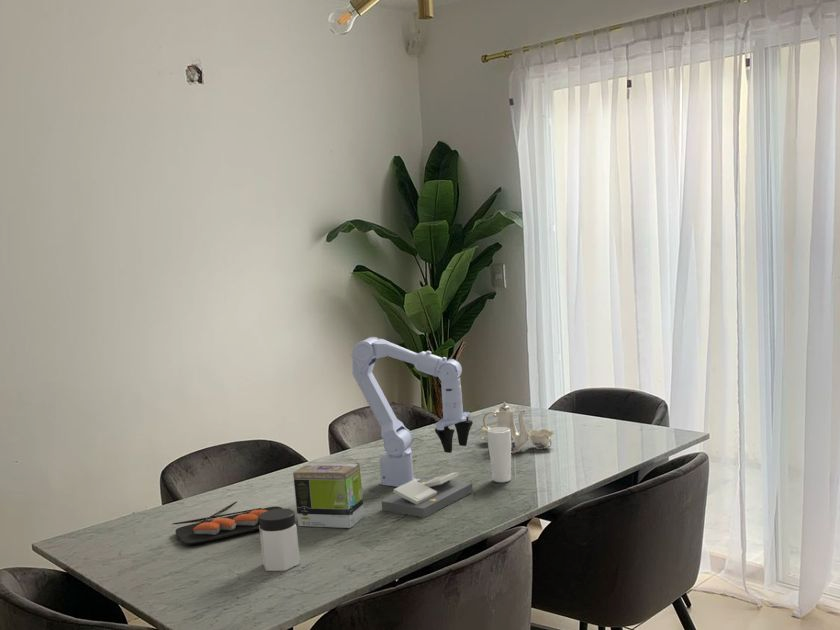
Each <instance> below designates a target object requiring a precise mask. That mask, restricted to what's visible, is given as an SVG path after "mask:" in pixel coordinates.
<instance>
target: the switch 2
mask: <svg viewBox="0 0 840 630" xmlns="http://www.w3.org/2000/svg"><path fill="white" fill-rule="evenodd" d="M458 476H460V472H459V471H455V472H451V473H447V474H443V475H440V476H439V475H438V476H436V477H433V478H434V479H432V480H429V481H427V482H425V483H423V484H424V485H425V486H427V487H431V486H436V485H440V484H442V483H445V482H447V481H449V480H453V479H455V478H456V477H458Z"/></svg>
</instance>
